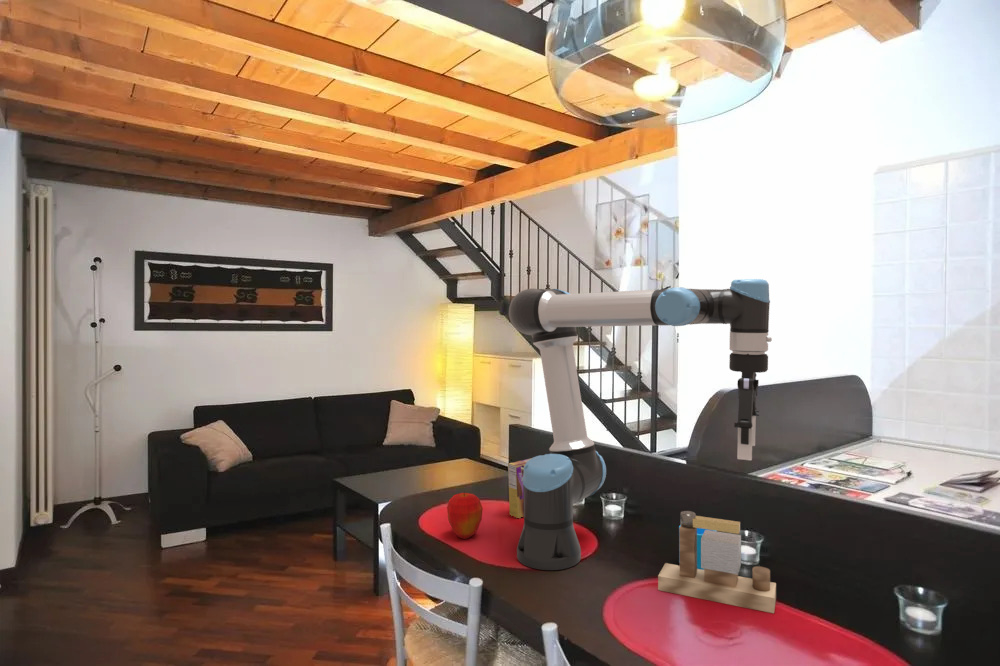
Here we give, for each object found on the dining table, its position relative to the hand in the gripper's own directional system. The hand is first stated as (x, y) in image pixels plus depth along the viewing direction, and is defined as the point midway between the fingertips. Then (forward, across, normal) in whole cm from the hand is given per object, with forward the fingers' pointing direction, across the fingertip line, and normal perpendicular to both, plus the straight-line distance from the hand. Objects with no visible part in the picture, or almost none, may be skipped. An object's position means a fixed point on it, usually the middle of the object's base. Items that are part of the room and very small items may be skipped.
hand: (746, 452), depth 126 cm
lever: (+14, -9, +6) cm, 18 cm away
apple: (+29, -2, +68) cm, 74 cm away
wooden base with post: (+28, -9, +5) cm, 30 cm away
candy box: (+29, +20, +60) cm, 70 cm away
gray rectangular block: (+22, -9, +4) cm, 24 cm away
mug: (+28, +7, +9) cm, 31 cm away
